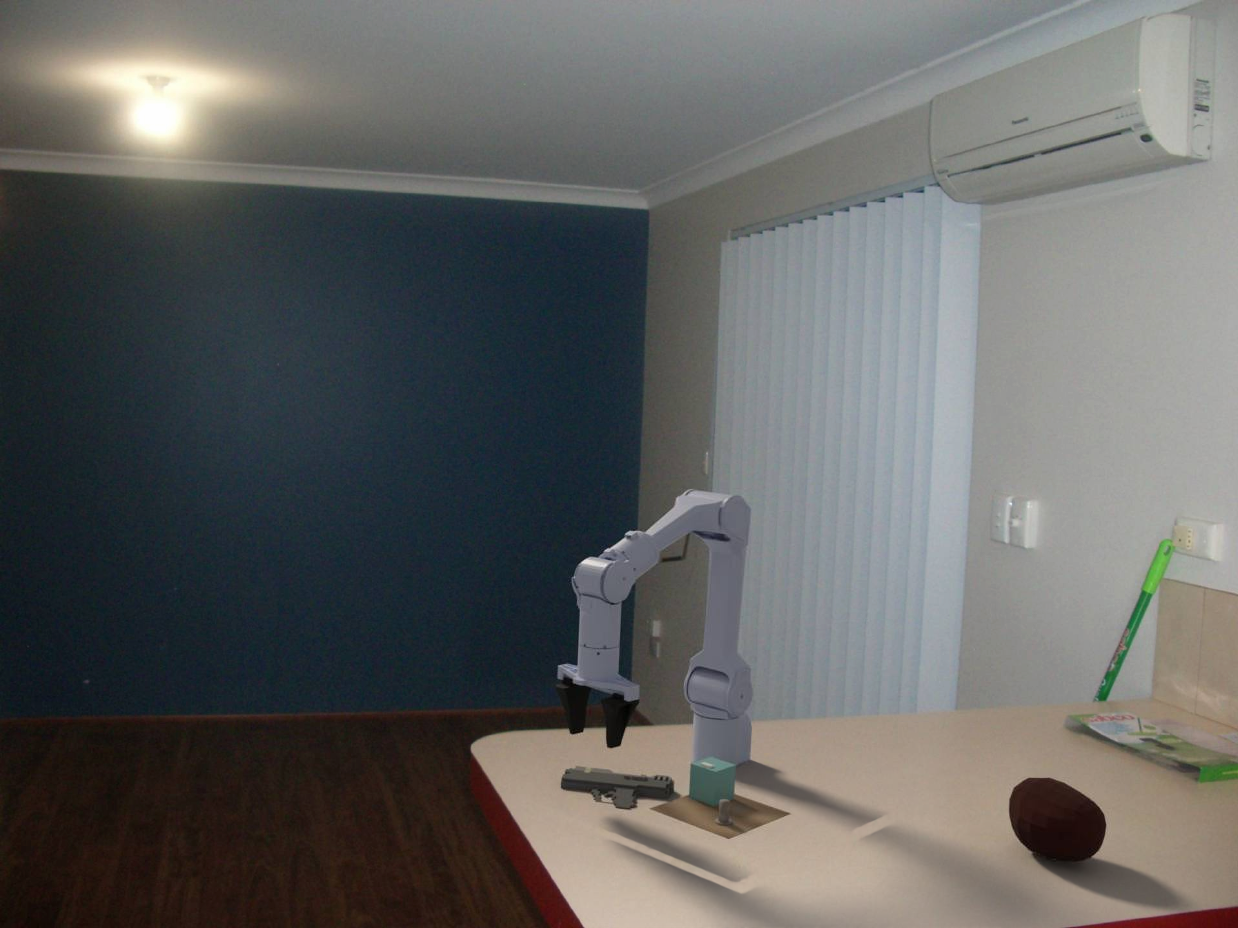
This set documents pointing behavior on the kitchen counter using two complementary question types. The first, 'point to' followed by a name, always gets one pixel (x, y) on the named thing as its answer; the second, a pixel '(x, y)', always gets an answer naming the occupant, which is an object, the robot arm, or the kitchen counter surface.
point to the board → (721, 814)
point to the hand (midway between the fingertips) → (594, 739)
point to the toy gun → (617, 785)
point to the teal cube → (712, 781)
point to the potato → (1056, 820)
